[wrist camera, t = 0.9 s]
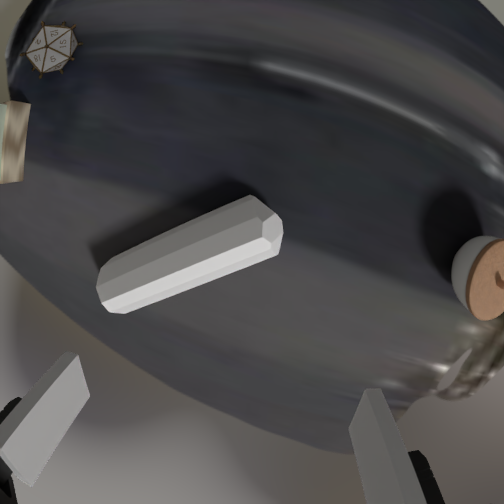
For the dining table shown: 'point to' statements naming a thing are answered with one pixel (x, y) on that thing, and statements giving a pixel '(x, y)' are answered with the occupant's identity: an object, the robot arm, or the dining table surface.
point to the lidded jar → (480, 276)
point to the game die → (52, 48)
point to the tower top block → (2, 128)
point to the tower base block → (14, 141)
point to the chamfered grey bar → (190, 255)
